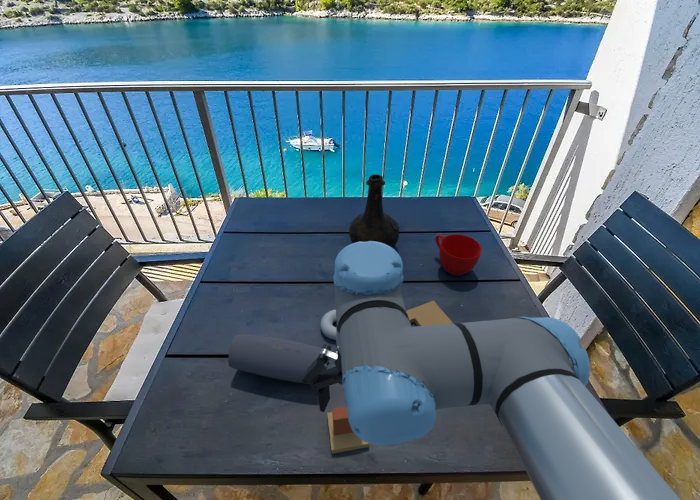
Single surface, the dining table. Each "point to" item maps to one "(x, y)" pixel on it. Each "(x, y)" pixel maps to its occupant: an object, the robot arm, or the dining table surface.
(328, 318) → the donut
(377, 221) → the glass bottle
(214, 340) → the dining table surface
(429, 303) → the base pad
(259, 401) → the dining table surface
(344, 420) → the open box
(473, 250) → the ceramic cup
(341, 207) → the dining table surface
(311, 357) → the bluetooth speaker
